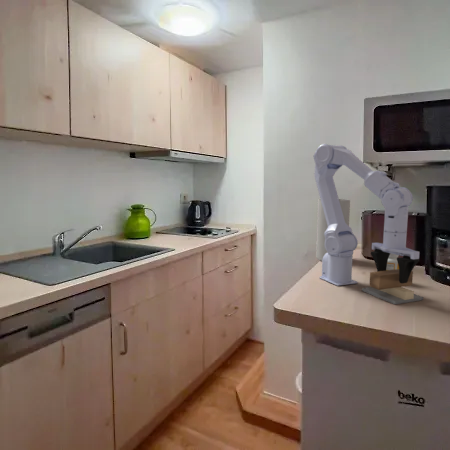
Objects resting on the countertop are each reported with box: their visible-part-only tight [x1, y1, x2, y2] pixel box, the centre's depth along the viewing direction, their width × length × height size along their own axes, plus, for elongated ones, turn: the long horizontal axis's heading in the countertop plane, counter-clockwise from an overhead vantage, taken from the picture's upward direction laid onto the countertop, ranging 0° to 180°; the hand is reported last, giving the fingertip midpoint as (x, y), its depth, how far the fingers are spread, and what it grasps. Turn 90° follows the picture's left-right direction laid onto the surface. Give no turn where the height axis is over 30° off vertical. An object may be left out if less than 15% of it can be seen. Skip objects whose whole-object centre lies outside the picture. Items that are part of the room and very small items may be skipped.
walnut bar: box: [369, 269, 414, 290], centre depth 95 cm, size 4×12×4 cm, turn 110°
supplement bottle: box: [386, 253, 400, 271], centre depth 109 cm, size 5×5×10 cm
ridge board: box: [361, 286, 424, 305], centre depth 95 cm, size 12×10×3 cm
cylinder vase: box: [315, 198, 351, 262], centre depth 138 cm, size 12×12×25 cm
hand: (392, 279), depth 95 cm, fingers open, 7 cm apart
